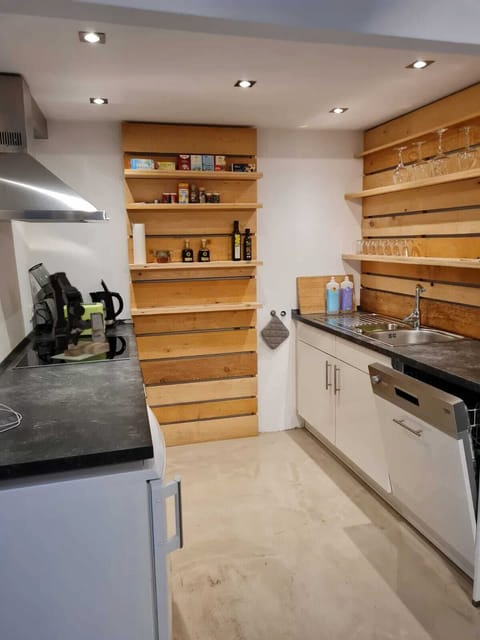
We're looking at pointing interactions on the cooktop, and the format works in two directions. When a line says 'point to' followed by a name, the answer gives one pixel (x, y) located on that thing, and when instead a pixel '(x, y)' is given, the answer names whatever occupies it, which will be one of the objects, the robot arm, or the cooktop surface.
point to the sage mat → (62, 356)
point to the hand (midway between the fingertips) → (75, 345)
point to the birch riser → (90, 347)
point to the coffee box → (97, 327)
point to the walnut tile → (73, 352)
